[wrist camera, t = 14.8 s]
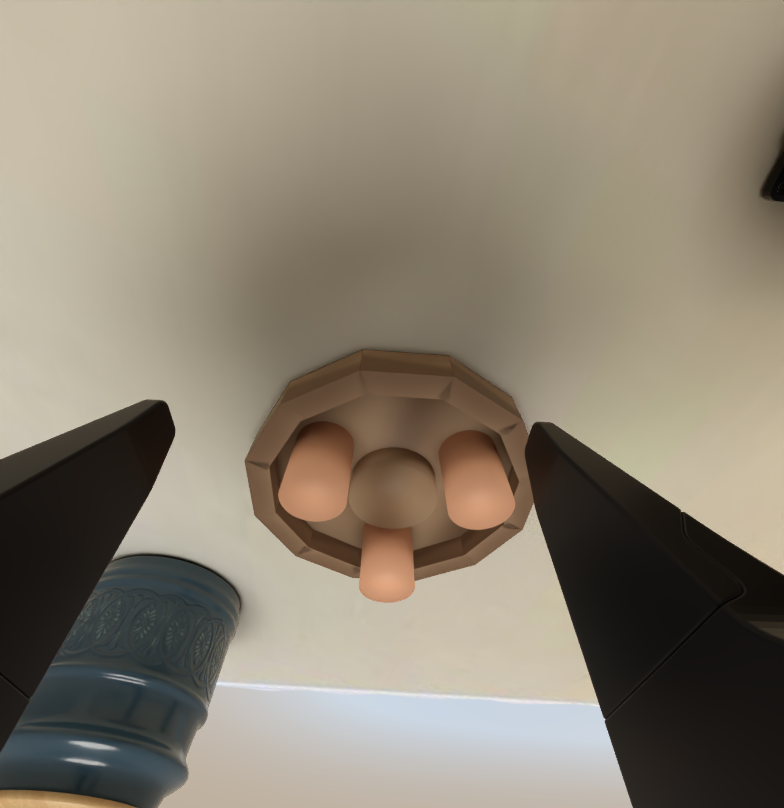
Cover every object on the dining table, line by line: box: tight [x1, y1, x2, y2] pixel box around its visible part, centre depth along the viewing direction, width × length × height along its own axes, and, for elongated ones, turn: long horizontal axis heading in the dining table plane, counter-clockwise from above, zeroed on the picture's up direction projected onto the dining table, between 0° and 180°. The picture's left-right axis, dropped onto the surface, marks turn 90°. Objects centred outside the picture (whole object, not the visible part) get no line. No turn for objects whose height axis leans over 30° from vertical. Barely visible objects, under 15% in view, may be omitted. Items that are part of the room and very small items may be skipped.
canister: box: [0, 556, 240, 808], centre depth 27 cm, size 13×13×18 cm
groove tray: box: [245, 350, 534, 581], centre depth 25 cm, size 18×18×3 cm
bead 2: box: [359, 523, 415, 602], centre depth 26 cm, size 4×4×4 cm
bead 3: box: [439, 430, 515, 530], centre depth 22 cm, size 4×4×4 cm
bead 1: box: [278, 421, 354, 522], centre depth 22 cm, size 4×4×4 cm
